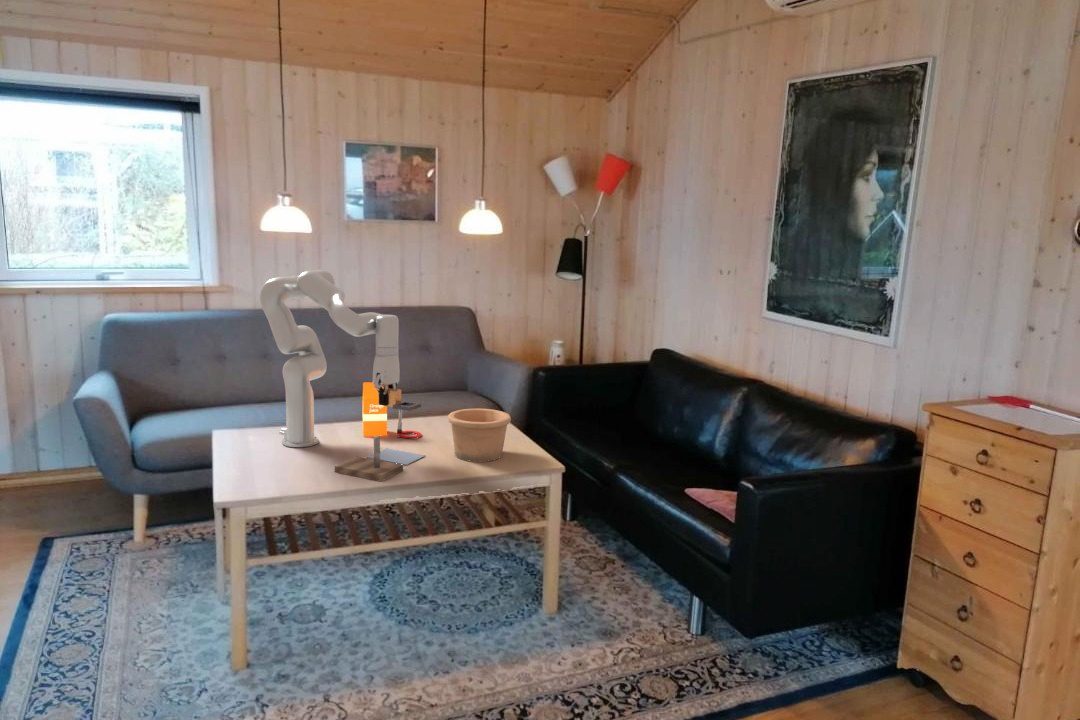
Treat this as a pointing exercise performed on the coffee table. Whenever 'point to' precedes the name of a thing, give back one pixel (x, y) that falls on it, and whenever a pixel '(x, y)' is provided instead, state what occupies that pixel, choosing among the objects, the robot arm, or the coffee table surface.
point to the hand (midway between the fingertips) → (386, 403)
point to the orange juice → (373, 412)
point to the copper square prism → (399, 401)
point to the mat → (397, 456)
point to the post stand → (369, 466)
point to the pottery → (478, 433)
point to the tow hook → (401, 433)
